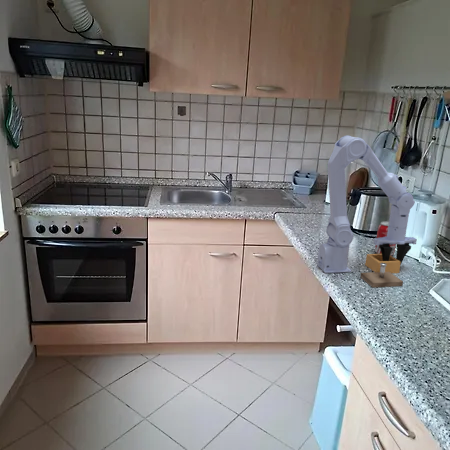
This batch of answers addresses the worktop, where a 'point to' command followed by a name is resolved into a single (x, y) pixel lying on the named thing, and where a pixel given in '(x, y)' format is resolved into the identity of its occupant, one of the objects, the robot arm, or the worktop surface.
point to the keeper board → (381, 278)
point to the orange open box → (376, 259)
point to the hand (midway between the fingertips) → (391, 264)
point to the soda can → (383, 233)
